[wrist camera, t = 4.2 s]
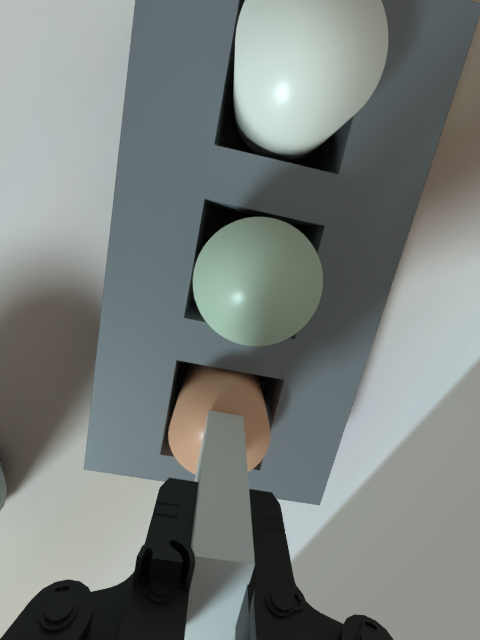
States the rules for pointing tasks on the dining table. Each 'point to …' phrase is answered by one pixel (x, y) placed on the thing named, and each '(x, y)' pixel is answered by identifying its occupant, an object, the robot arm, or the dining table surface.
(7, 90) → the dining table surface
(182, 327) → the grey egg holder
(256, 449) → the brown egg
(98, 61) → the dining table surface
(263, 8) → the white egg
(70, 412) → the dining table surface
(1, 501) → the soda can
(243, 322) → the pale green egg
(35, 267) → the dining table surface
